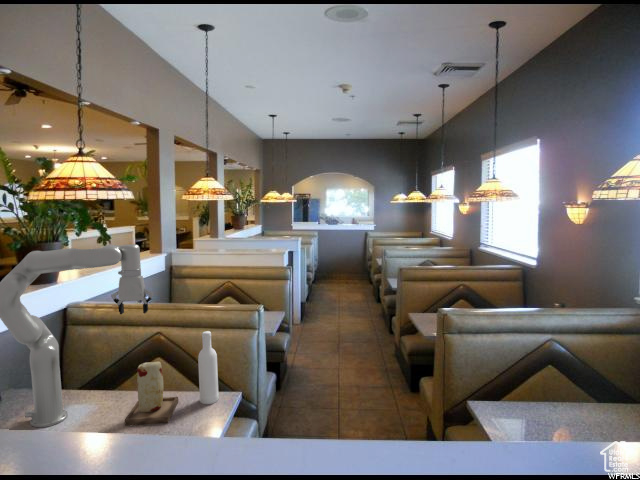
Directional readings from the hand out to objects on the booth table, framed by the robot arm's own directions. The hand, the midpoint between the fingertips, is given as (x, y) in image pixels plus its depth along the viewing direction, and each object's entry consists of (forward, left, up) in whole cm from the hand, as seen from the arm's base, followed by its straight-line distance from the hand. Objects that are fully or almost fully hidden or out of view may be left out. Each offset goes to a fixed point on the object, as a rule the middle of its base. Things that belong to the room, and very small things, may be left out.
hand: (133, 313), depth 188 cm
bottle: (+31, -5, -38) cm, 50 cm away
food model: (+10, -14, -37) cm, 41 cm away
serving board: (+10, -14, -38) cm, 42 cm away
